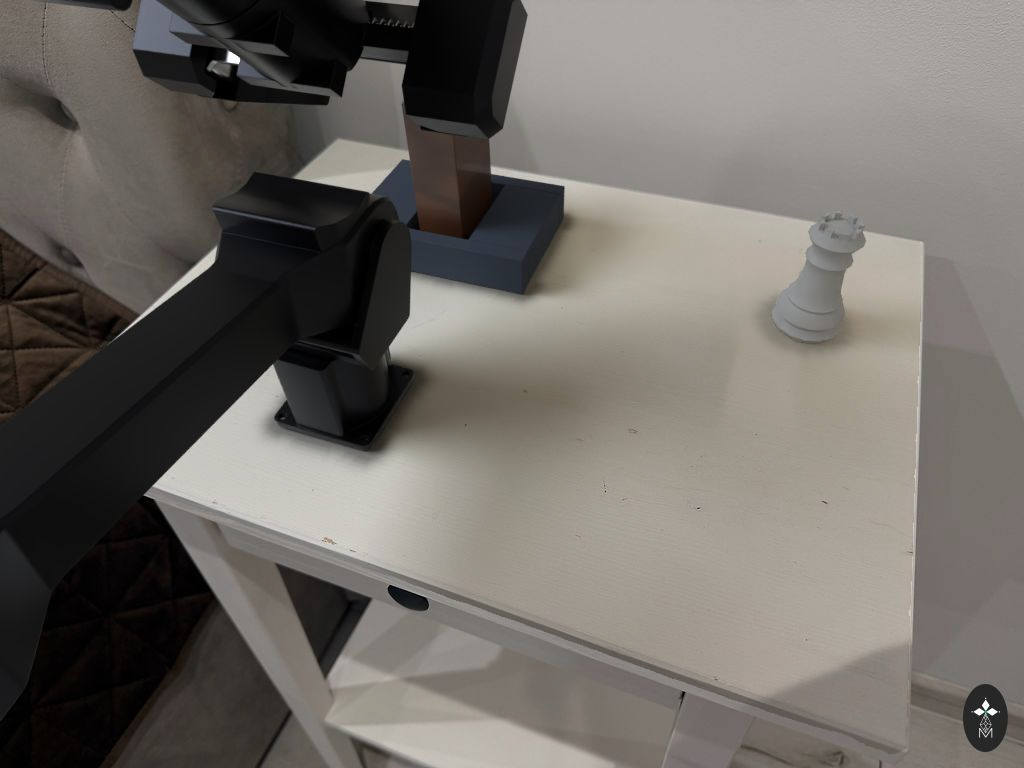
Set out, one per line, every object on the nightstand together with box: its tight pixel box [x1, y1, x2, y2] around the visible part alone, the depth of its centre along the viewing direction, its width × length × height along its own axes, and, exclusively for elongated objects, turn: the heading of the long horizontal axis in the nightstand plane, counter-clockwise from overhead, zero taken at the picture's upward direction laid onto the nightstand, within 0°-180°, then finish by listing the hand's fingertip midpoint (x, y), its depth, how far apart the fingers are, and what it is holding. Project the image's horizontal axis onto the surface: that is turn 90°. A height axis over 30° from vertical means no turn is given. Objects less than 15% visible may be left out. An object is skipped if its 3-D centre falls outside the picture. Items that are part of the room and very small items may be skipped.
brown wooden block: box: [401, 100, 493, 240], centre depth 50 cm, size 4×6×12 cm, turn 160°
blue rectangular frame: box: [371, 158, 566, 295], centre depth 53 cm, size 10×14×3 cm
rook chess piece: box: [771, 210, 867, 344], centre depth 44 cm, size 4×4×8 cm
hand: (396, 106), depth 40 cm, fingers open, 9 cm apart
